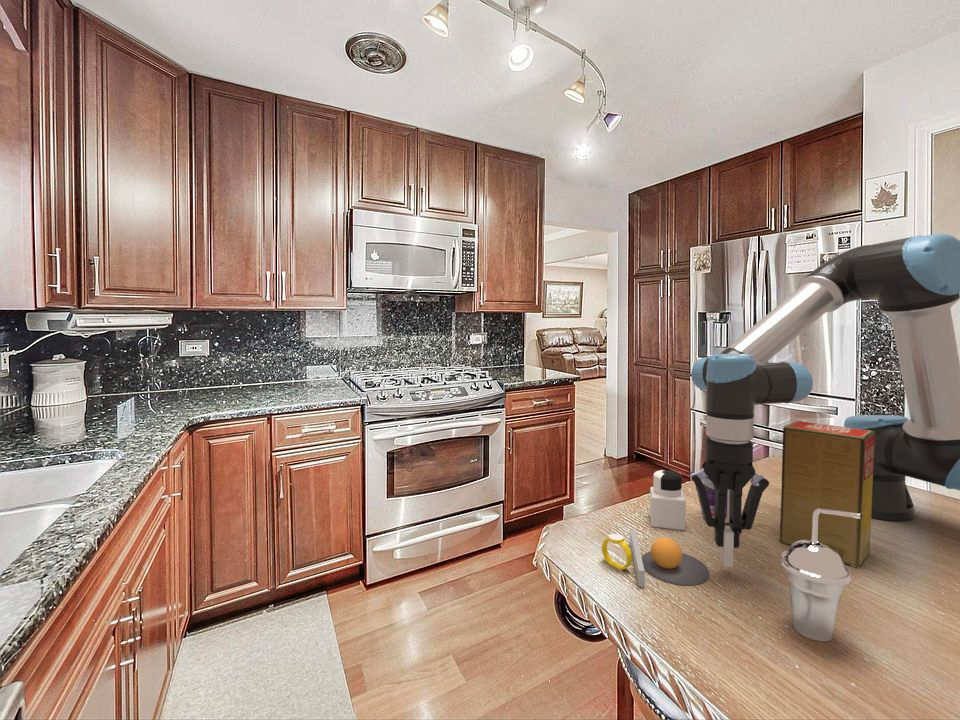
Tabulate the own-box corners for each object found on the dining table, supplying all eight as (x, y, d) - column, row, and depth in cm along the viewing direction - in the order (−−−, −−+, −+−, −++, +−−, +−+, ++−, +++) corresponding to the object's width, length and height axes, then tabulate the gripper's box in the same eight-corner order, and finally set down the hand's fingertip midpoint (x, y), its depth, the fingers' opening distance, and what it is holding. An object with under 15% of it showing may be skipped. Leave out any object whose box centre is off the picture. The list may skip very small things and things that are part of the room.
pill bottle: (731, 511, 107) (732, 454, 106) (748, 525, 99) (749, 464, 98) (697, 510, 108) (698, 453, 107) (711, 525, 100) (712, 464, 99)
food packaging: (871, 552, 87) (877, 429, 85) (859, 569, 81) (865, 438, 79) (793, 529, 97) (796, 419, 95) (777, 542, 92) (780, 426, 90)
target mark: (700, 554, 87) (700, 553, 87) (717, 589, 76) (717, 588, 76) (637, 548, 90) (637, 547, 90) (644, 581, 79) (644, 580, 79)
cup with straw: (812, 609, 70) (817, 489, 68) (869, 650, 61) (875, 513, 59) (764, 615, 69) (768, 492, 67) (815, 657, 60) (820, 518, 58)
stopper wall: (635, 543, 92) (635, 529, 92) (644, 587, 77) (644, 571, 77) (630, 543, 93) (630, 529, 92) (638, 586, 77) (638, 570, 77)
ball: (648, 557, 87) (678, 561, 85) (652, 572, 81) (684, 576, 80) (649, 531, 86) (679, 534, 85) (653, 544, 81) (685, 547, 80)
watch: (600, 564, 85) (598, 534, 85) (608, 559, 87) (606, 529, 87) (626, 575, 81) (624, 543, 80) (635, 569, 82) (633, 538, 82)
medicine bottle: (681, 517, 104) (682, 469, 103) (685, 531, 97) (686, 479, 96) (650, 514, 106) (650, 466, 106) (651, 527, 100) (651, 476, 99)
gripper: (761, 434, 81) (757, 556, 83) (685, 432, 84) (684, 549, 86) (778, 445, 74) (774, 578, 75) (694, 442, 77) (692, 569, 79)
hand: (726, 562), depth 81 cm, fingers closed
